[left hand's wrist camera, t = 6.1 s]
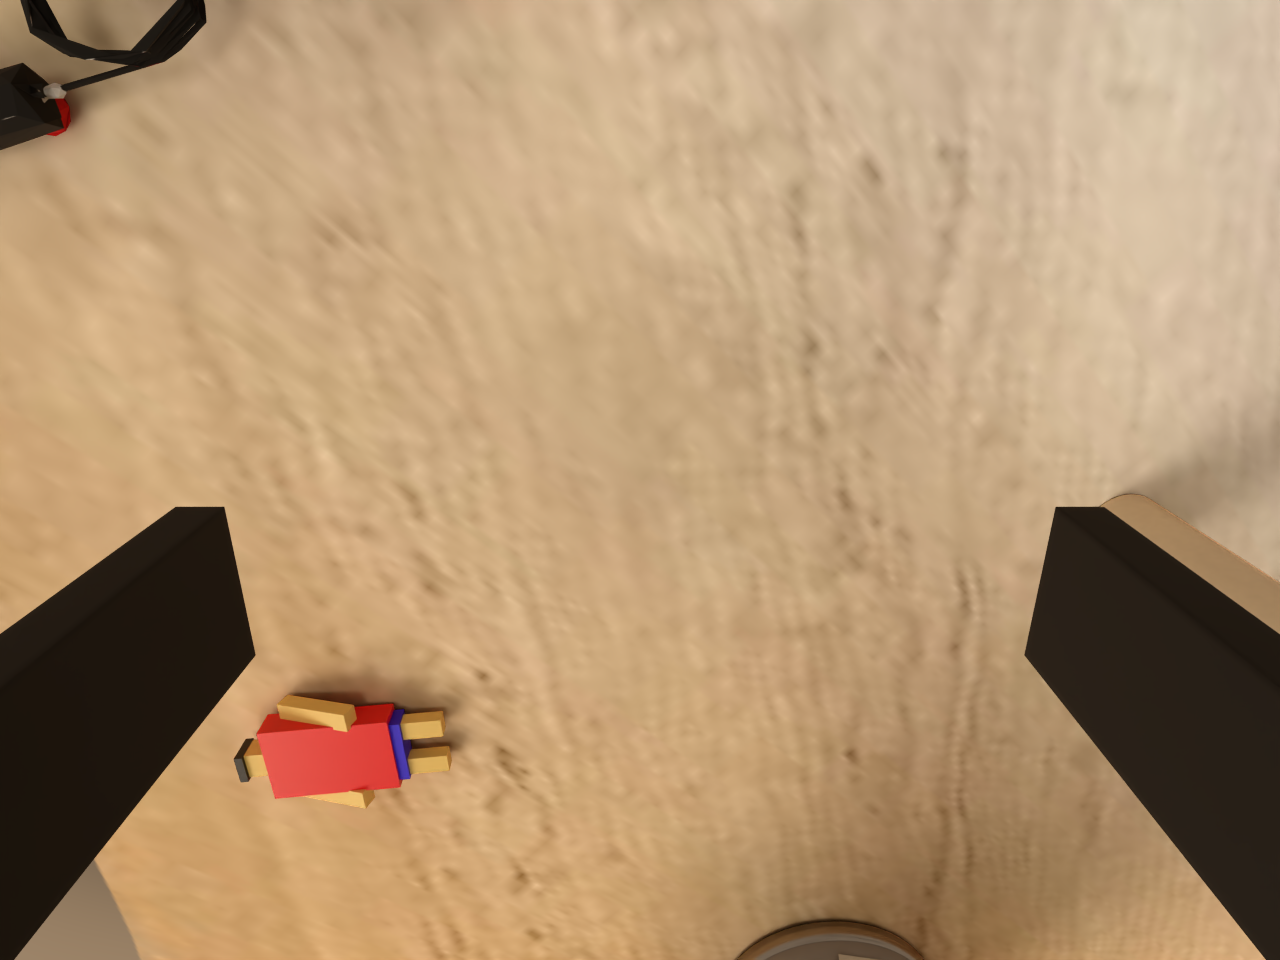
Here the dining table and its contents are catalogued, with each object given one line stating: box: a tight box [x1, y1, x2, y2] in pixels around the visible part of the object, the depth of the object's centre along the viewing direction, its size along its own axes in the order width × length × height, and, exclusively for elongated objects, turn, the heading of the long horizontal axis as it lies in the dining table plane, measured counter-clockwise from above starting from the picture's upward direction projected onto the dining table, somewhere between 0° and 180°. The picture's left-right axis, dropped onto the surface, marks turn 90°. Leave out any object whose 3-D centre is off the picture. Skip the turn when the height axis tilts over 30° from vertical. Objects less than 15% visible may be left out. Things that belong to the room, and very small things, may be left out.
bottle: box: [1100, 494, 1280, 634], centre depth 34 cm, size 4×4×19 cm
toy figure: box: [234, 695, 452, 809], centre depth 47 cm, size 2×7×12 cm
